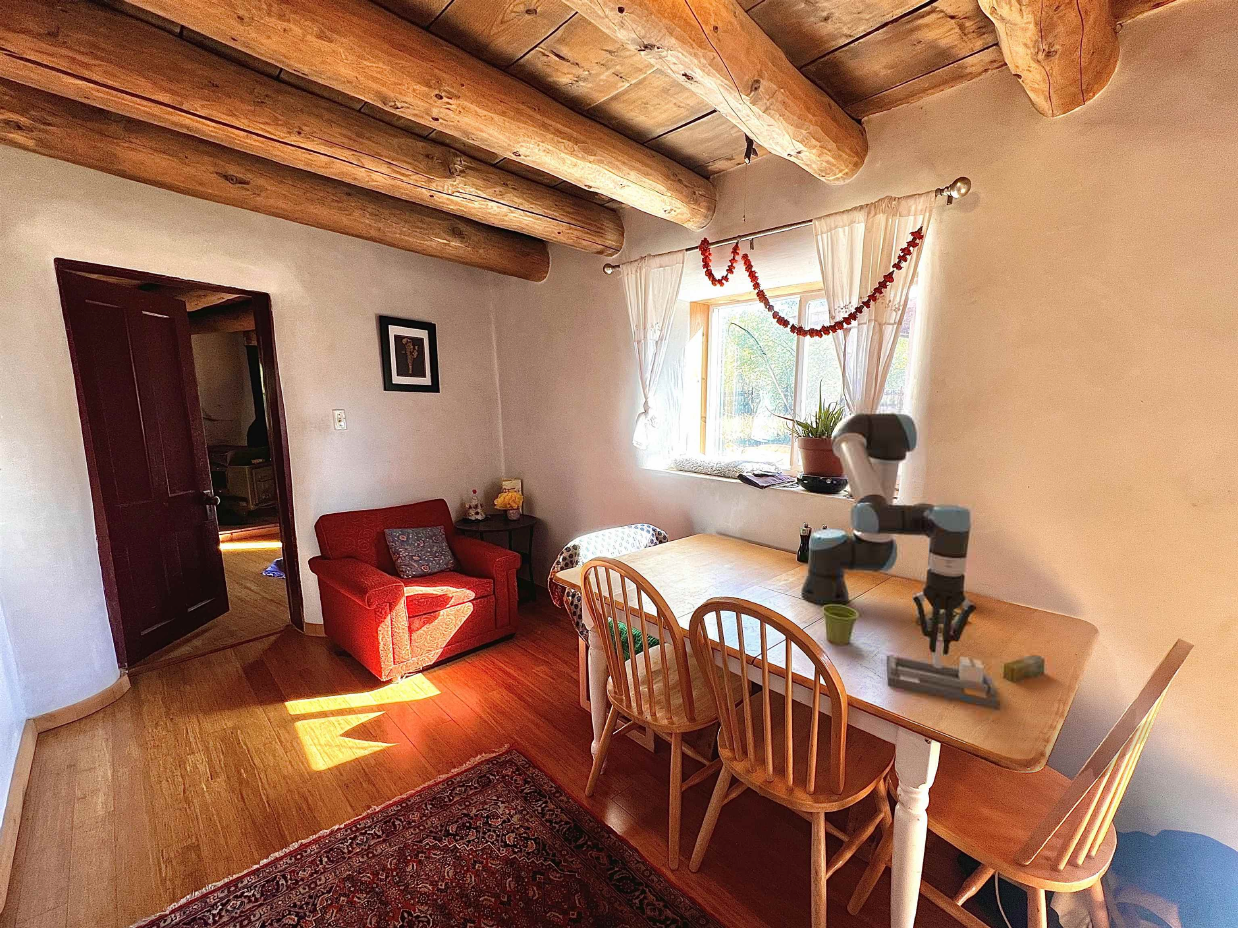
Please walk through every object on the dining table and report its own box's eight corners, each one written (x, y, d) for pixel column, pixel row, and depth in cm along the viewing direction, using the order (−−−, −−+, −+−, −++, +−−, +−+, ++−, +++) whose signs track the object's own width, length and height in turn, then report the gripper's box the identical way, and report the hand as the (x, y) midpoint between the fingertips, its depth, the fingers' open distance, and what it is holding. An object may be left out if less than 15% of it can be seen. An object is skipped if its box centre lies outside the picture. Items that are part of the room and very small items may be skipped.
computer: (943, 635, 151) (944, 624, 150) (915, 624, 158) (915, 614, 157) (968, 622, 159) (969, 612, 159) (940, 613, 166) (941, 603, 166)
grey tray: (887, 685, 123) (888, 671, 123) (886, 662, 134) (887, 649, 134) (999, 709, 114) (1001, 695, 113) (988, 683, 125) (989, 669, 124)
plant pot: (854, 635, 149) (856, 606, 148) (858, 650, 140) (860, 620, 139) (820, 630, 152) (821, 602, 151) (821, 644, 143) (823, 615, 142)
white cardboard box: (961, 683, 120) (963, 663, 119) (958, 675, 124) (960, 655, 123) (981, 688, 118) (983, 667, 118) (978, 679, 122) (980, 659, 121)
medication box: (1032, 668, 132) (1033, 654, 131) (1044, 673, 129) (1045, 658, 129) (1002, 678, 127) (1003, 663, 127) (1014, 683, 125) (1015, 668, 124)
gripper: (915, 571, 120) (907, 666, 123) (982, 580, 115) (972, 679, 118) (912, 562, 127) (905, 652, 130) (975, 570, 121) (966, 663, 125)
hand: (937, 665), depth 124 cm, fingers closed
